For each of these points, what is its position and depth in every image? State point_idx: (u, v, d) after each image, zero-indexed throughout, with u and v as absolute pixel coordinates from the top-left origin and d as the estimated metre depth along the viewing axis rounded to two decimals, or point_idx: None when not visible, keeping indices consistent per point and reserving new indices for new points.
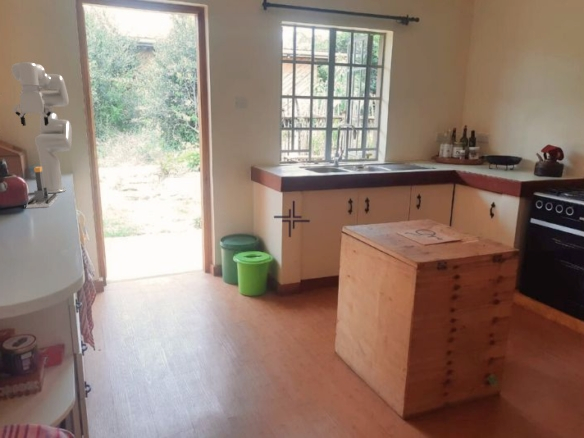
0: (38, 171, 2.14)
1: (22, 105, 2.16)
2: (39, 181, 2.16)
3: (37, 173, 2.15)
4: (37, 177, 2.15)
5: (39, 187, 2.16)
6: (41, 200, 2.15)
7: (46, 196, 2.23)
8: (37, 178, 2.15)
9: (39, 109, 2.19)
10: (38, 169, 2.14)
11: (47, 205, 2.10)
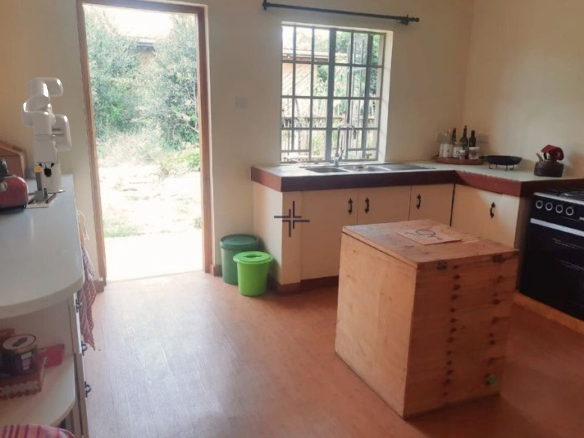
0: (38, 171, 2.14)
1: (35, 155, 2.13)
2: (39, 181, 2.16)
3: (37, 173, 2.15)
4: (37, 177, 2.15)
5: (39, 187, 2.16)
6: (41, 200, 2.15)
7: (46, 196, 2.23)
8: (37, 178, 2.15)
9: (52, 158, 2.15)
10: (38, 169, 2.14)
11: (47, 205, 2.10)
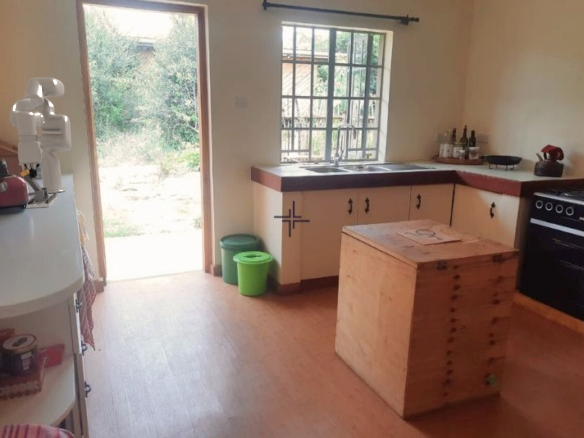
0: (25, 174, 2.13)
1: (20, 155, 2.11)
2: (32, 183, 2.15)
3: (26, 176, 2.13)
4: (28, 180, 2.14)
5: (35, 188, 2.16)
6: (41, 200, 2.15)
7: (46, 196, 2.23)
8: (28, 181, 2.14)
9: (37, 159, 2.14)
10: (24, 172, 2.13)
11: (47, 205, 2.10)
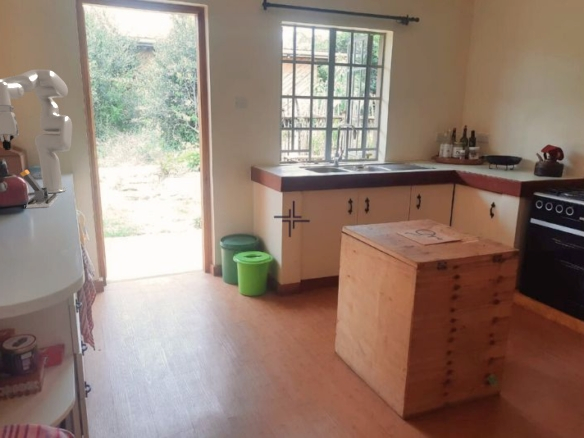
0: (25, 174, 2.13)
1: None
2: (32, 183, 2.15)
3: (26, 176, 2.13)
4: (28, 180, 2.14)
5: (35, 188, 2.16)
6: (41, 200, 2.15)
7: (46, 196, 2.23)
8: (28, 181, 2.14)
9: (11, 130, 2.08)
10: (24, 172, 2.13)
11: (47, 205, 2.10)
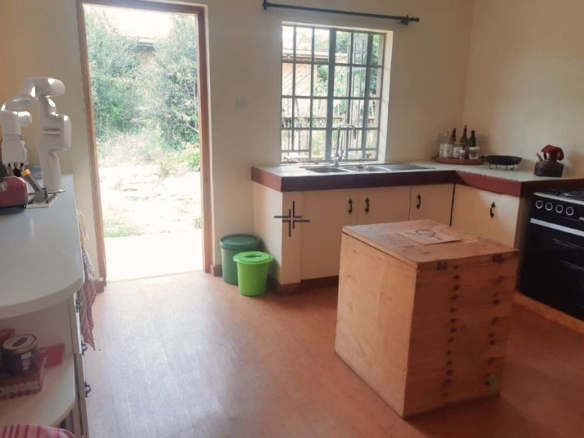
0: (26, 174, 2.13)
1: (3, 155, 2.09)
2: (32, 182, 2.15)
3: (26, 176, 2.13)
4: (28, 180, 2.14)
5: (36, 188, 2.16)
6: (41, 200, 2.15)
7: (46, 196, 2.23)
8: (29, 181, 2.14)
9: (21, 158, 2.11)
10: (25, 172, 2.13)
11: (47, 205, 2.10)
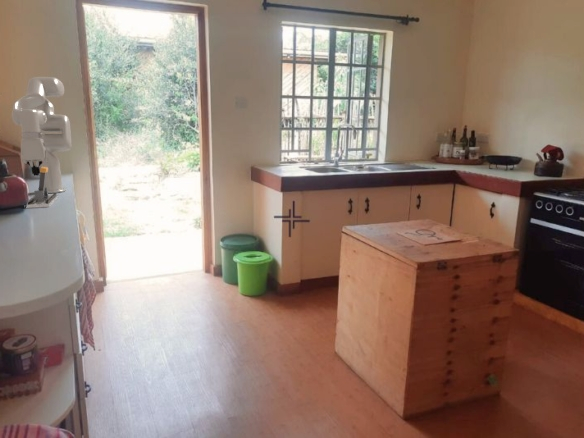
0: (44, 172, 2.15)
1: (22, 152, 2.11)
2: (42, 181, 2.16)
3: (42, 173, 2.15)
4: (41, 177, 2.15)
5: (41, 187, 2.16)
6: (41, 200, 2.15)
7: (46, 196, 2.23)
8: (41, 178, 2.16)
9: (40, 156, 2.13)
10: (44, 170, 2.15)
11: (47, 205, 2.10)
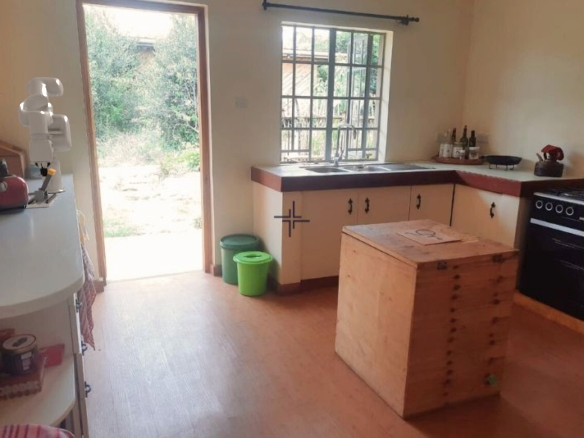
0: (51, 174, 2.16)
1: (31, 154, 2.12)
2: (46, 183, 2.17)
3: (49, 175, 2.16)
4: (47, 178, 2.16)
5: (43, 188, 2.17)
6: (41, 200, 2.15)
7: (46, 196, 2.23)
8: (46, 179, 2.16)
9: (48, 157, 2.15)
10: (52, 172, 2.16)
11: (47, 205, 2.10)
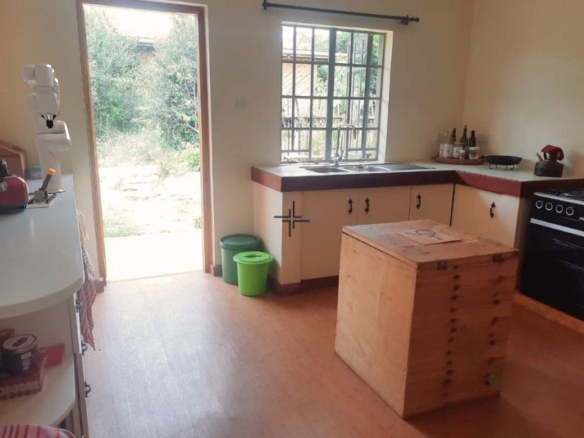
0: (51, 174, 2.16)
1: (37, 106, 2.21)
2: (46, 183, 2.17)
3: (49, 175, 2.16)
4: (47, 178, 2.16)
5: (43, 188, 2.17)
6: (41, 200, 2.15)
7: (46, 196, 2.23)
8: (46, 179, 2.16)
9: (54, 110, 2.23)
10: (52, 172, 2.16)
11: (47, 205, 2.10)
